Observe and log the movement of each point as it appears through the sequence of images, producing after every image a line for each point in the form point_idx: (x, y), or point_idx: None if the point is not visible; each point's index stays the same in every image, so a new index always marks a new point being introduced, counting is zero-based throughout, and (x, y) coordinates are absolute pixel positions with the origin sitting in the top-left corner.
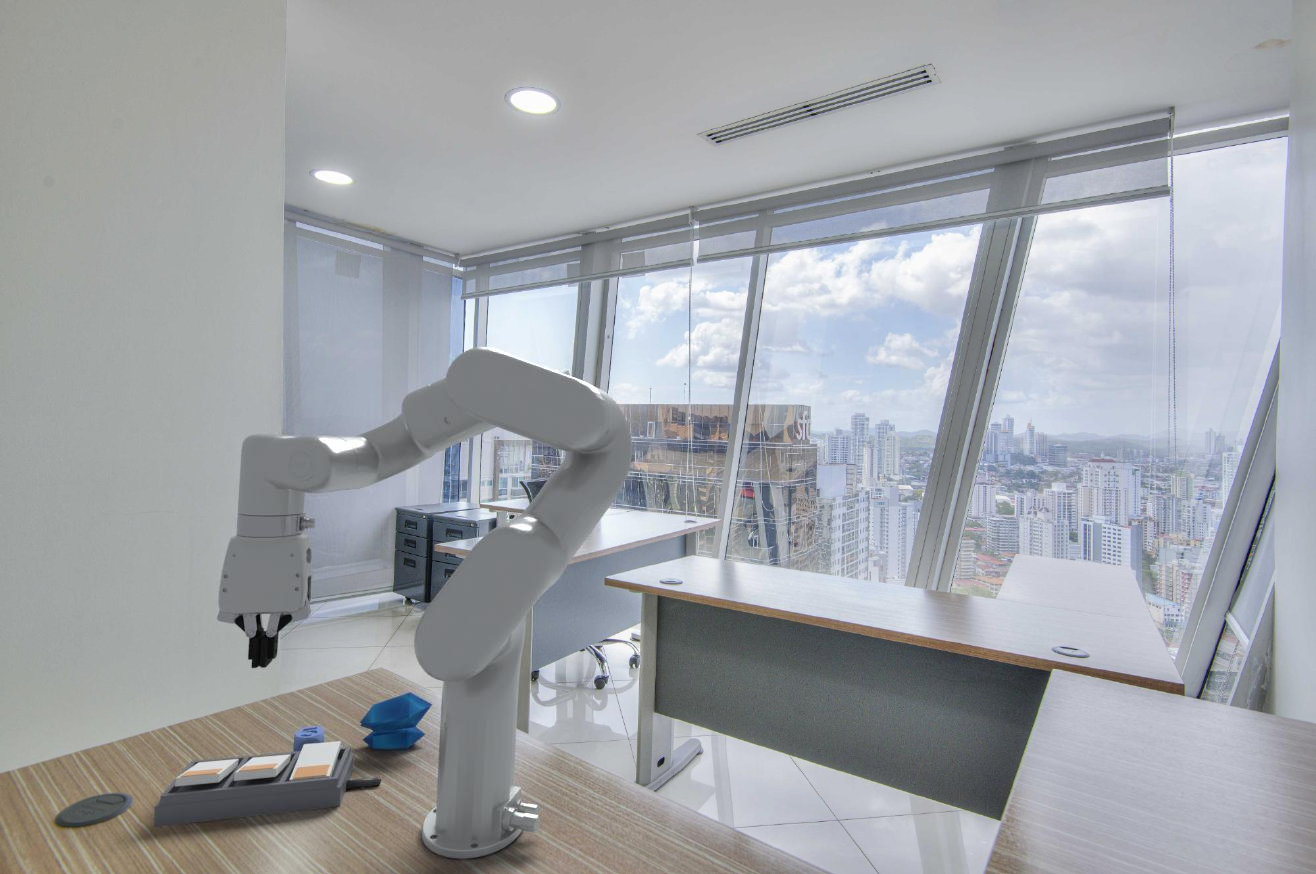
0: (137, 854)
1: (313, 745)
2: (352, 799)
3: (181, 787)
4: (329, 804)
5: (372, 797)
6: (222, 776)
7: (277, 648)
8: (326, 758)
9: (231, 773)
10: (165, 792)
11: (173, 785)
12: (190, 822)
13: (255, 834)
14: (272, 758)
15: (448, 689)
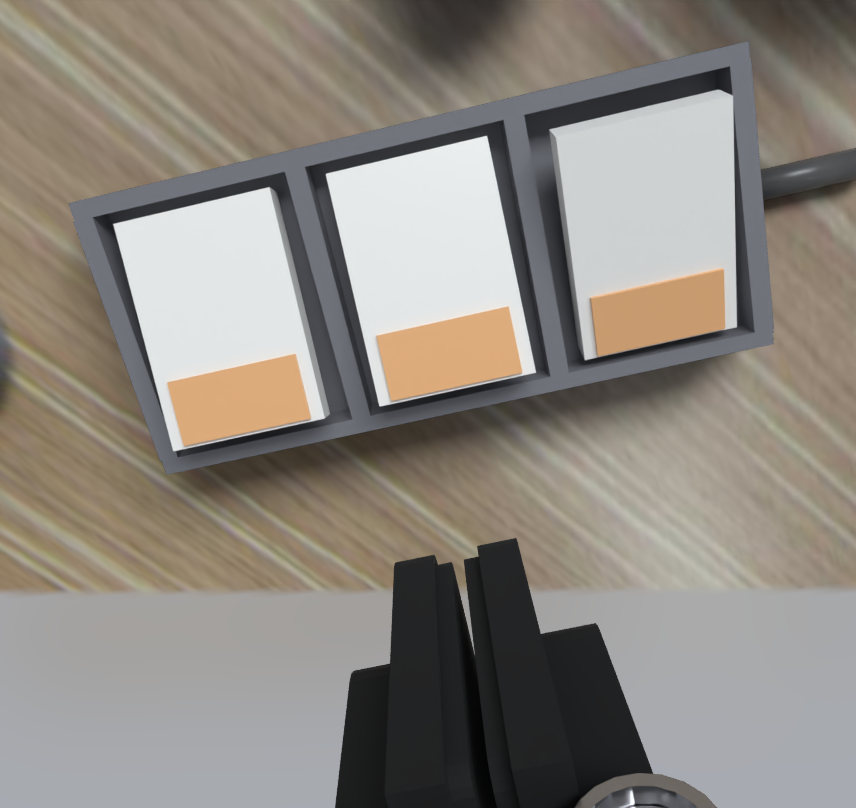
0: (244, 557)
1: (605, 141)
2: (777, 269)
3: None
4: None
5: (849, 255)
6: (319, 378)
7: (610, 660)
8: (695, 227)
9: None
10: (164, 450)
11: (154, 403)
12: None
13: (528, 470)
14: (432, 201)
15: None
